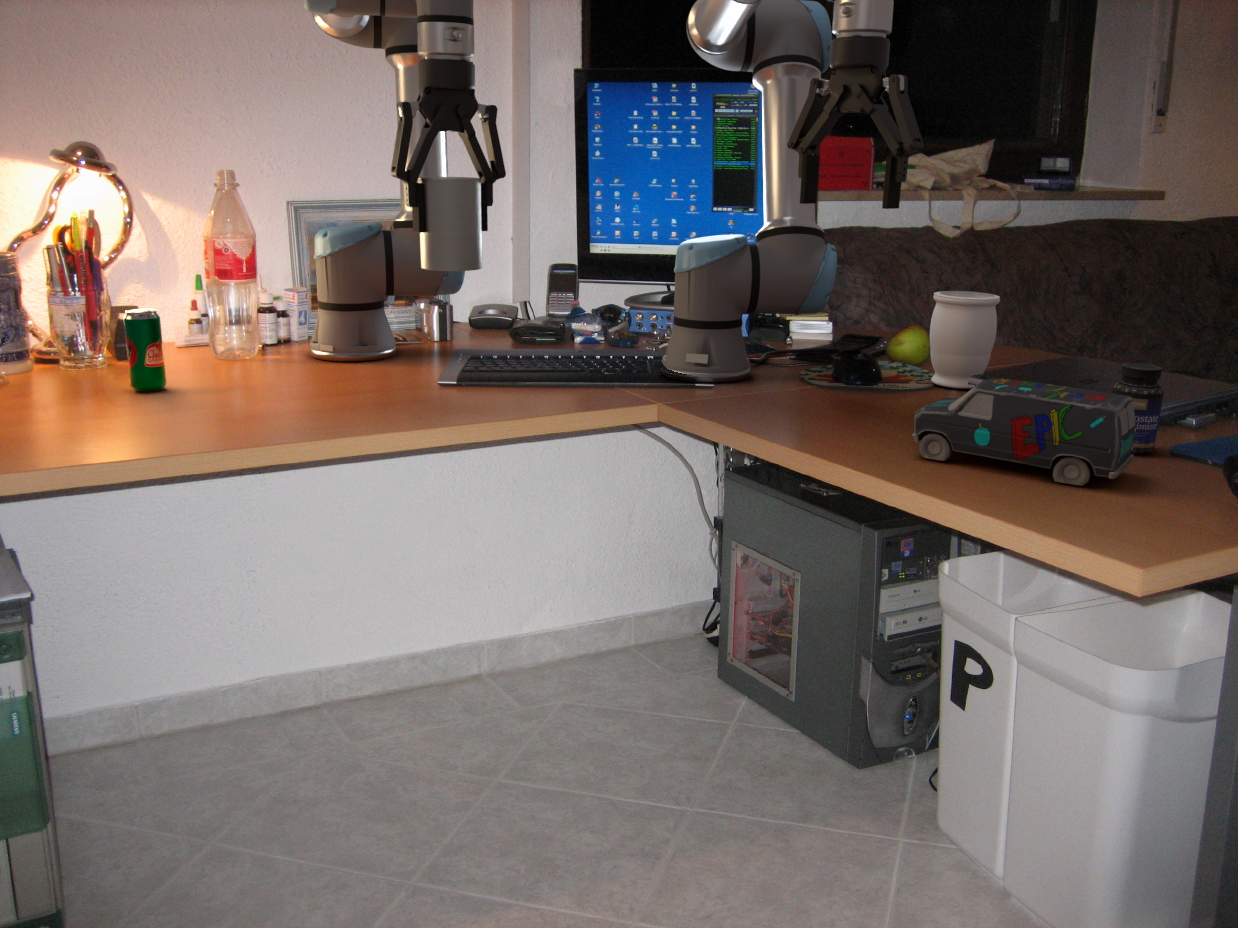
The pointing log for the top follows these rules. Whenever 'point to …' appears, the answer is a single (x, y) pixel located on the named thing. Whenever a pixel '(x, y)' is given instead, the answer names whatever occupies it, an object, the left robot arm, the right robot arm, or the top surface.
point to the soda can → (145, 349)
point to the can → (451, 224)
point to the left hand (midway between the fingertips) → (450, 231)
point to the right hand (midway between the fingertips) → (847, 206)
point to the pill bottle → (1142, 401)
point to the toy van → (1033, 428)
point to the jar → (962, 336)
